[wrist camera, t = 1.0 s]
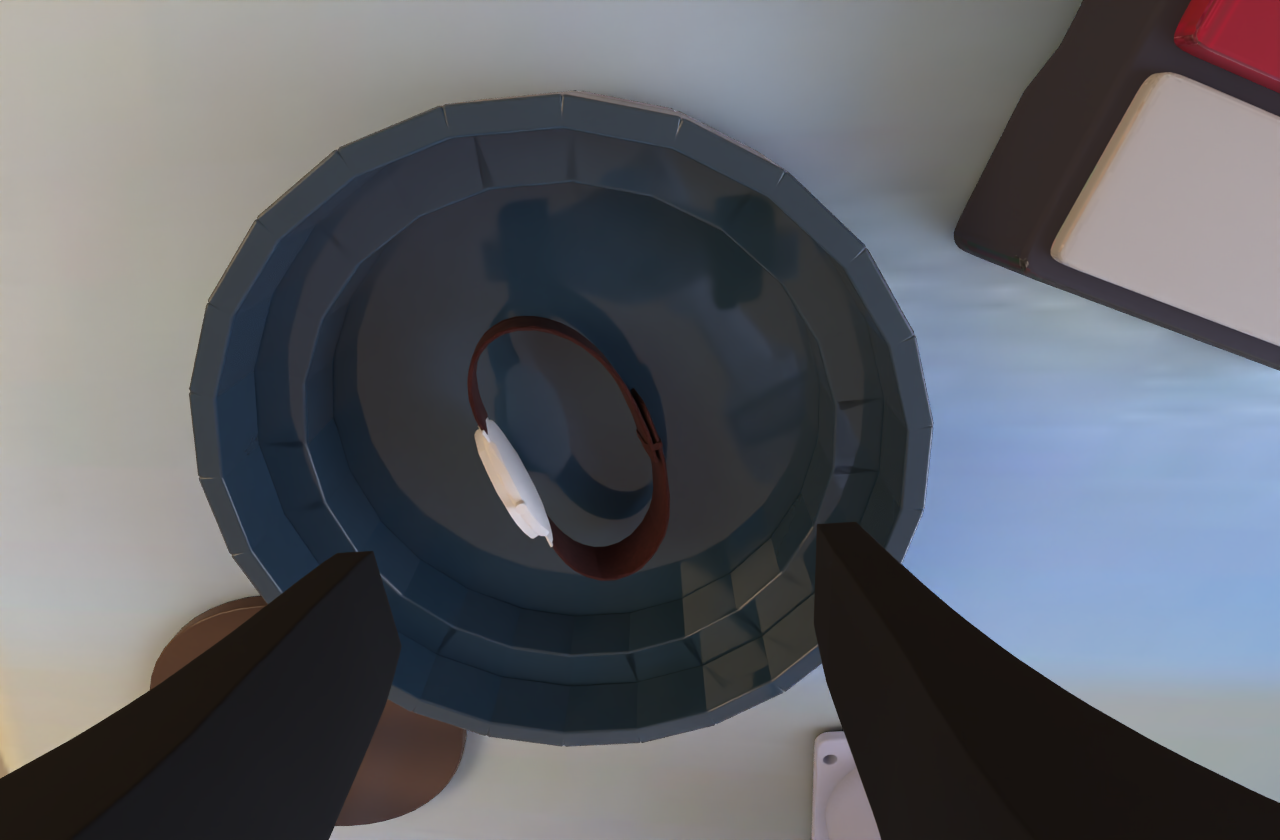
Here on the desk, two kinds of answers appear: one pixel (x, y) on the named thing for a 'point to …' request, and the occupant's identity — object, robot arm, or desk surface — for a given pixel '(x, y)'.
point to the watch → (523, 494)
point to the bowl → (561, 407)
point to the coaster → (398, 752)
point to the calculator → (1149, 170)
